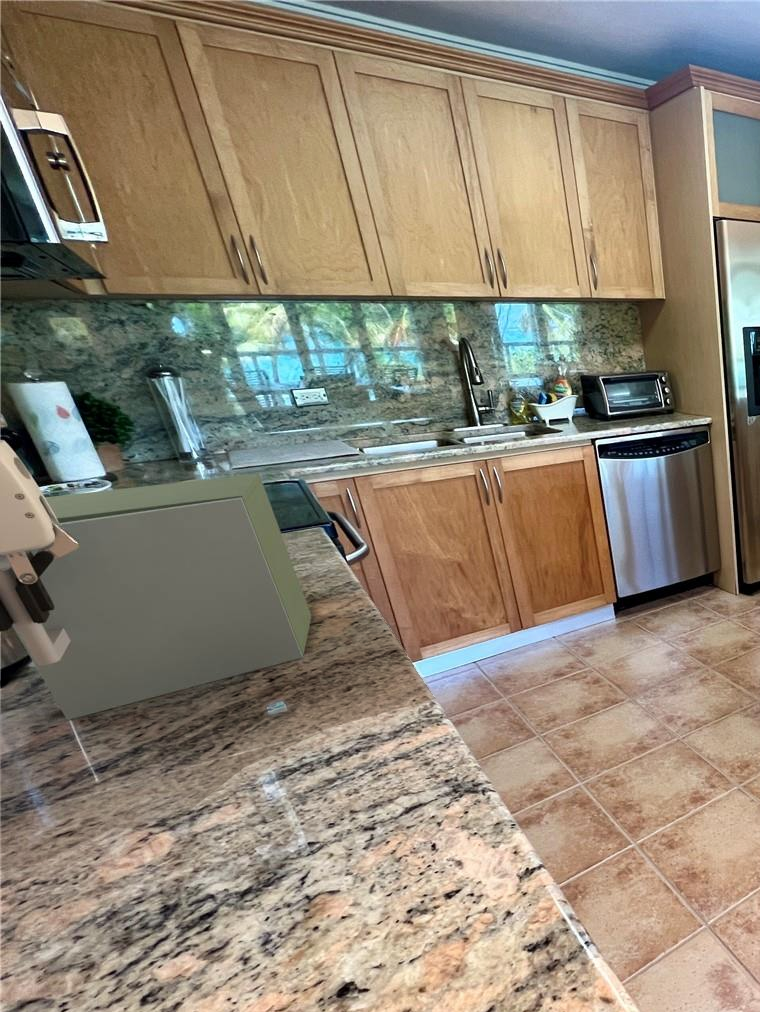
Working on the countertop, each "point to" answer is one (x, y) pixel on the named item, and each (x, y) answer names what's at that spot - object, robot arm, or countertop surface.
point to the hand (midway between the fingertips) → (24, 621)
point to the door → (153, 607)
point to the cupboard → (195, 493)
